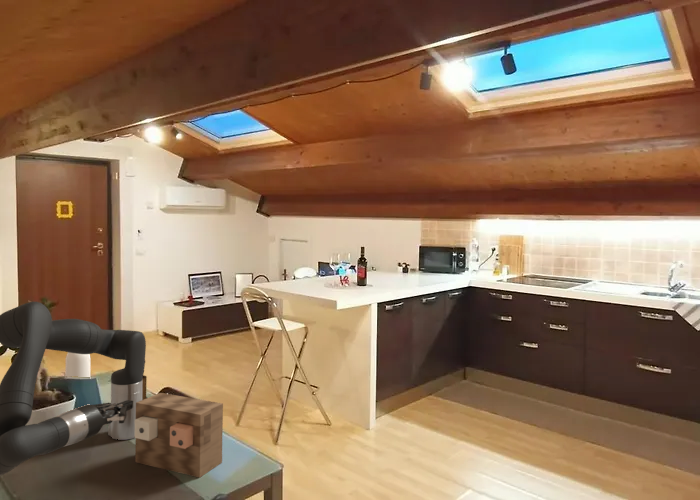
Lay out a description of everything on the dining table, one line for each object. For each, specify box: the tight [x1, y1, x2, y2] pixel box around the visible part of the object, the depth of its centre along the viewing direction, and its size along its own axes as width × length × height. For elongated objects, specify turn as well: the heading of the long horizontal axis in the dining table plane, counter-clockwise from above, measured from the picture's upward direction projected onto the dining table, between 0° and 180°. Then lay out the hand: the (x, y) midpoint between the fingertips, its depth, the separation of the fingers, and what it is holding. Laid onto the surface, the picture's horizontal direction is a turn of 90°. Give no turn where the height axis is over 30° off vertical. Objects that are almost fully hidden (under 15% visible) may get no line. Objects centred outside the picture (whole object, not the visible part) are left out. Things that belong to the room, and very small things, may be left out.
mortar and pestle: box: [142, 371, 148, 400], centre depth 196 cm, size 7×6×18 cm
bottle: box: [65, 352, 91, 378], centre depth 188 cm, size 8×8×30 cm
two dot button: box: [170, 423, 194, 449], centre depth 143 cm, size 5×5×5 cm
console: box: [134, 392, 224, 479], centre depth 151 cm, size 22×10×17 cm, turn 68°
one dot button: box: [134, 416, 158, 441], centre depth 148 cm, size 5×5×5 cm
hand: (130, 403), depth 141 cm, fingers closed
